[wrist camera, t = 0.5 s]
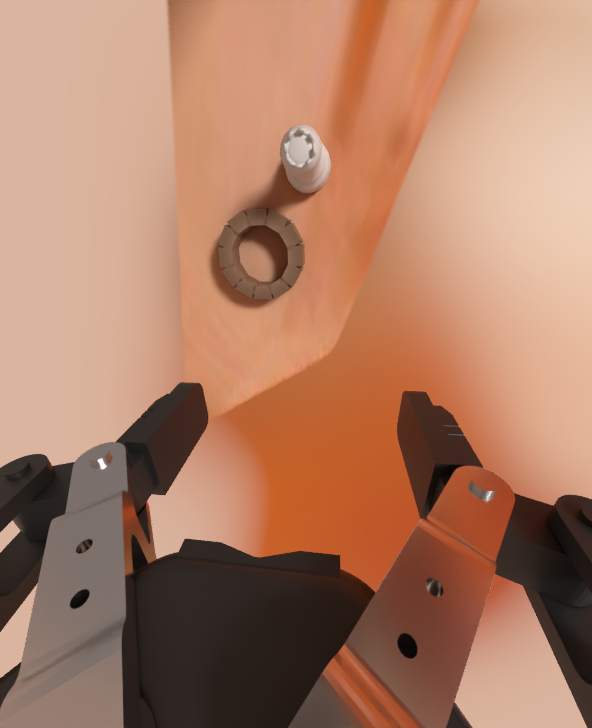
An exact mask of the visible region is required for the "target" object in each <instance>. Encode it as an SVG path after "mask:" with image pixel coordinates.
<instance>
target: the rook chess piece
mask: <svg viewBox="0 0 592 728" xmlns="http://www.w3.org/2000/svg"><path fill="white" fill-rule="evenodd" d="M280 156H281V160H282V164H283V165H284V167H285V171H286V175H287V178H288V181H289V182H290V183H291V185H292V186H293V188H295V189H296V190H298V191H299V192H301V193H312V192H315V191H318V190H319V189H320V188H321V187H322V186H323V185H324V184H325V183H326V181H327V179H328V177H329V175H330V167H331V162H330V157H329V153H328V151H327V150H326V148H325V146H324V145H323V143H321V140H320V137H319V136H318V134H317V133H316V131H315V130H314V129H312V128H311V127H309V126H308V125H297V126H294V127H292V128H290V129H289V130H288V132H287V133H286V134H285V135H284V137H283V140H282V142H281V147H280Z"/></svg>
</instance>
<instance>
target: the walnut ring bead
mask: <svg viewBox="0 0 592 728" xmlns="http://www.w3.org/2000/svg"><path fill="white" fill-rule="evenodd" d="M290 222H291V220H290V219H288V218H286V217H285V216H283V215H281V214H280V213H278V212H276V211H275V210H271V209H267V208H255V209H246V211H245V210H242V211H241V212H240V213H238V214H237V215H236V216H234V217H233V218H232V219H230V220H229V221H228V224H229V225H225V226H224V229H223V232H222V234H221V237H220V240H219V242H218V244H220V245H221V246H223V247H218V254H219V261H220V267H227V268H225V269H224V270H222V272H223V274H224V275H225V277H226V278H227V280H228V281H229V283H230V284H231V286H232V287H233V286H235V285H237V286H236V289H235V290H237V291H239V292H240V293H242V294H244V295H246V296H248V297H249V298H252V297H253V296H254V299H273V297H274V298H277V297H278V296H280V295H282V294H283V293H285V292H287V291H288V290H290V289H291V287H293V285H294V284H295V282H296V281H297V279H298V277H299V275H300V273H301V271H302V269H303V265H304V264H305V263H304V244H301V245H297V244H299V243H301V242H302V241H303V239H302V237H301V236H300V234H299V232H298V230H297V228H296V226H295V225H294V223H290ZM261 225H266V226H268V227H269V228H271V229H272V230H274V231H276V232H277V233H279V234H280V236H281V238H282V239H283V241H284V243H285V245H286V246H287V248H288V266H287V268H286V270H285V272H284V274H283V276H282V277H280V278H279V279H277V280H276V281H274V282H259V281H258V280H256V279H254V278H253V277H251V276H249V275H248V274H247V272H246V271H245V269H244V268H243V266H242V265H241V263H240V256H239V246H240V243H241V241H242V238H243V236H244V234H245V233H246V232H248V231H249V230H251V229H252V228H253V227H255V226H261Z"/></svg>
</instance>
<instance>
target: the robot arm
mask: <svg viewBox="0 0 592 728" xmlns="http://www.w3.org/2000/svg"><path fill="white" fill-rule="evenodd" d="M207 424H208V411H207V407H206V402H205V397H204V393H203V388H202V386H201V384H200V383H184V382H183V383H179V384H178V385H177V386H176V387H175V388H174V389H173V391H172V392H171V393H170V394H166V395H165V396H163V397H161V398H160V399H158V400H156V401H155V402H154V403H153V404H152V405H151V406H150V407H149V408H148V410H147V411H145V413H143V414H142V416H141V418H139V419H138V420H137V421H136V422H135V423H134V424H133V425H132V426H131V427H130V428H129V429H128V430H127V431H126V432H125V433H124V434H123V435H122V436H121V437H120V438H119V439H118V440H117V441H116V442H109V443H104V444H101V445H98V446H95V447H93V448H91V449H90V450H88V451H86V452H85V453H83V454H82V455H81V456H80V457H79V458H78V459H77V460H76V462H73V463H67V464H62V465H56V466H52V465H51V463H50V462H49V460H48V458H47V457H46V456H45V455H42V454H33V455H28V456H24V457H22V458H19V459H16V460H14V461H12V462H10V463H8V464H6V465H4V466H3V467H1V468H0V532H1V531H2V530H3V529H4V528H5V527H6V526H7V525H8V524H9V523H10V522H11V521H12V520H13V521H14V522H15V524H16V525H17V527H18V528H19V529H20V530H21V531H20V533H19V534H18V535H17V536H16V537H15V538H14V539H13V540H12V541H11V542H10V543H9V544H8V545H7V546H6V548H4V549H3V551H2V552H1V553H0V632H1V630H2V629H3V628H4V626H5V625H6V624H7V622H8V621H9V620H10V619H11V617H12V616H13V614H14V613H15V612H16V611H17V609H18V608H19V607H20V605H21V604H22V603H23V601H24V600H25V599H26V598H27V596H28V595H29V594H30V592H31V591H32V590H33V588H34V587H35V586H36V584H37V583H38V585H37V590H36V594H35V599H34V604H33V609H32V614H31V618H30V623H29V629H28V633H27V638H26V643H25V648H24V652H23V657H22V662H20V663H19V664H18V665H17V666H15V667H14V668H13V669H12V670H10V671H9V672H8V673H6V674H5V675H4V676H3V677H1V678H0V728H472V726H471V725H470V724H469V722H468V721H467V719H466V718H465V716H464V715H463V714H462V712H461V711H460V709H459V708H458V706H457V705H456V704H455V702H454V701H455V698H456V695H457V692H458V689H459V685H460V682H461V678H462V676H463V672H464V669H465V666H466V663H467V660H468V657H469V654H470V651H471V647H472V644H473V641H474V638H475V635H476V631H477V628H478V625H479V622H480V619H481V616H482V613H483V609H484V606H485V603H486V600H487V597H488V594H489V590H490V587H491V584H492V581H493V578H494V575H495V574H497V575H499V576H501V577H504V578H506V579H508V580H511V581H513V582H516V583H518V584H521V585H523V587H524V589H525V591H526V594H527V596H528V598H529V600H530V602H531V604H532V607H533V609H534V611H535V613H536V616H537V618H538V620H539V622H540V624H541V627H542V629H543V631H544V633H545V635H546V637H547V640H548V642H549V644H550V646H551V648H552V651H553V653H554V655H555V657H556V660H557V662H558V664H559V666H560V668H561V670H562V673H563V675H564V677H565V679H566V682H567V684H568V686H569V688H570V690H571V692H572V695H573V697H574V699H575V701H576V704H577V706H578V708H579V710H580V712H581V715H582V717H583V719H584V721H585V723H586V726H587V728H592V499H589V498H586V497H582V496H577V495H564V496H561V497H560V498H558V500H557V501H556V503H555V504H554V506H553V505H549V504H546V503H543V502H539V501H536V500H533V499H530V498H526V497H523V496H520V495H518V494H515V493H514V492H513V490H512V489H511V487H510V486H509V485H508V484H507V482H506V481H504V480H503V479H502V478H501V477H500V476H498V475H497V474H495V473H493V472H491V471H489V470H487V469H484V468H483V466H482V464H481V463H480V461H479V459H478V458H477V456H476V454H475V452H474V451H473V449H472V448H471V446H470V444H469V442H468V441H467V439H466V437H465V436H464V434H463V432H462V431H461V429H460V428H459V427H458V424H457V422H456V420H455V419H454V417H453V415H452V414H450V413H449V412H448V411H447V410H446V409H444V408H443V407H442V406H433V404H432V403H431V401H430V399H429V397H428V395H427V393H426V392H416V391H404V392H403V395H402V400H401V406H400V412H399V418H398V424H397V434H398V441H399V445H400V448H401V451H402V455H403V459H404V462H405V466H406V469H407V473H408V476H409V479H410V484H411V487H412V491H413V494H414V498H415V501H416V505H417V508H418V512H419V515H420V519H421V520H420V521H419V522H418V524H417V526H416V527H415V529H414V531H413V532H412V534H411V535H410V537H409V539H408V540H407V542H406V544H405V545H404V547H403V549H402V550H401V552H400V554H399V555H398V557H397V558H396V560H395V562H394V563H393V565H392V567H391V568H390V570H389V572H388V573H387V575H386V577H385V578H384V580H383V581H382V583H381V585H380V586H379V588H378V590H377V591H376V592H374V591H373V590H372V589H371V588H370V587H369V586H368V585H367V584H365V583H364V582H363V581H361V580H360V579H359V578H357V577H355V576H354V575H352V574H350V573H348V572H346V571H344V570H341V569H340V555H332V554H323V553H313V552H304V551H297V552H291V553H285V554H279V555H273V556H268V557H262V558H258V557H253V556H251V555H249V554H246V553H244V552H242V551H239V550H237V549H235V548H233V547H230V546H228V545H226V544H223V543H221V542H212V541H202V540H193V539H185V540H184V542H183V544H182V546H181V548H180V550H179V552H177V553H173V554H169V555H166V556H164V557H161V558H159V559H156V554H155V548H154V541H153V533H152V526H151V517H150V510H149V505H148V502H147V500H148V498H149V497H150V496H151V494H156V495H166V493H167V491H168V490H169V488H170V486H171V485H172V483H173V481H174V480H175V478H176V476H177V475H178V473H179V472H180V470H181V468H182V467H183V465H184V463H185V462H186V460H187V458H188V456H189V455H190V454H191V452H192V450H193V449H194V447H195V445H196V444H197V442H198V440H199V439H200V437H201V435H202V434H203V432H204V431H205V429H206V427H207Z"/></svg>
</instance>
